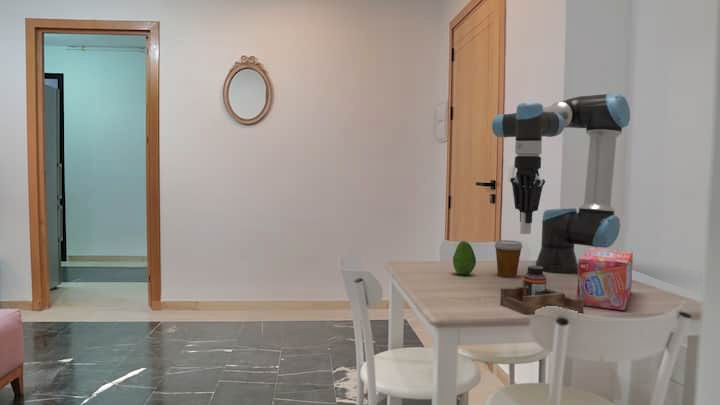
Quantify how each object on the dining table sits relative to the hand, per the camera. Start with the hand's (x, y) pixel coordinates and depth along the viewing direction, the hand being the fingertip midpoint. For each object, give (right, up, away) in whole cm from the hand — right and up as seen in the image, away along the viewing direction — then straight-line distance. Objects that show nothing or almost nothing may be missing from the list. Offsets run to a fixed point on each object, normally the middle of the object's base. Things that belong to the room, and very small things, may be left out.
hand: (525, 233), depth 166 cm
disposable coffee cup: (+2, -17, +27) cm, 32 cm away
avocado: (-13, -16, +27) cm, 34 cm away
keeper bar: (+3, -19, -7) cm, 20 cm away
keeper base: (0, -20, -16) cm, 25 cm away
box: (+23, -20, -3) cm, 30 cm away
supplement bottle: (-2, -20, -15) cm, 25 cm away
